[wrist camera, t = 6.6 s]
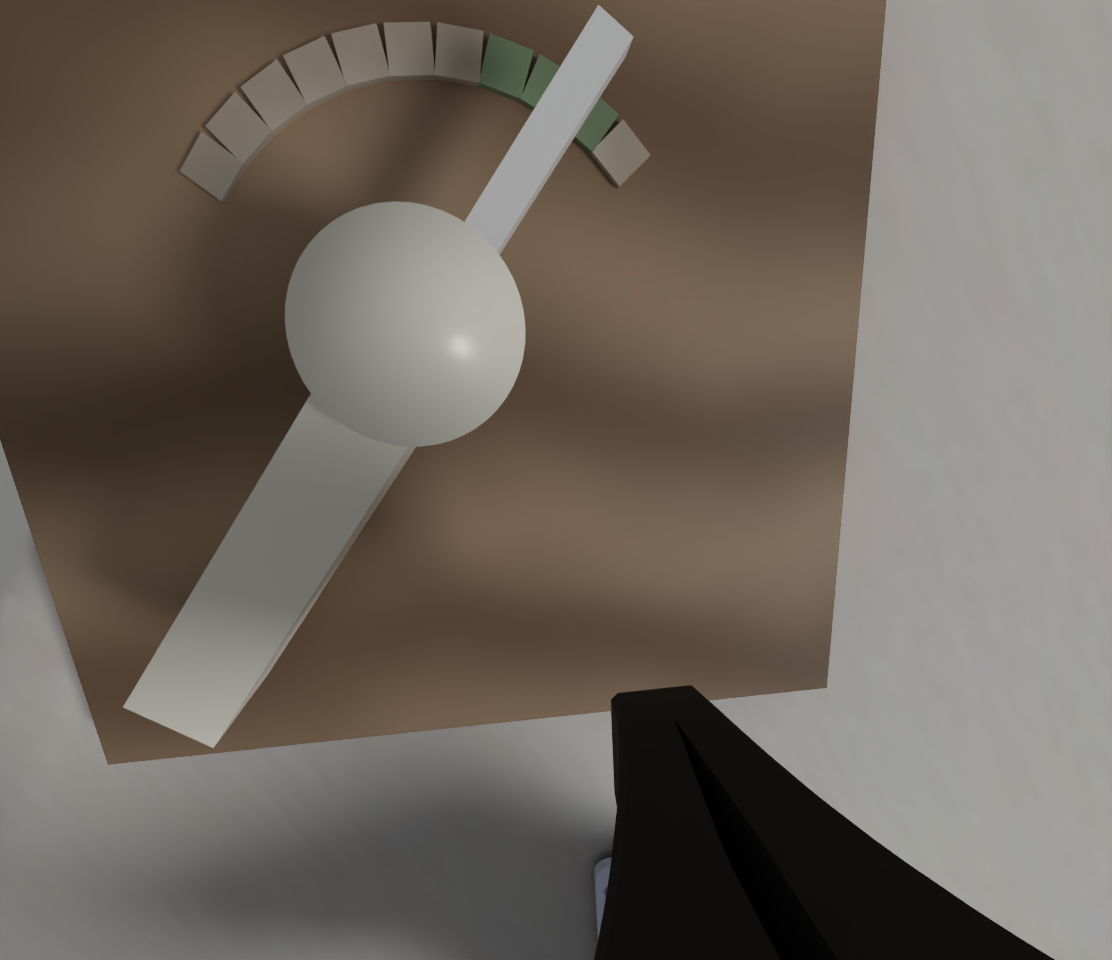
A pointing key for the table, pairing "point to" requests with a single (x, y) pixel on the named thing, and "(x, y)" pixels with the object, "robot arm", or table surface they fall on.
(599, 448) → the wood grain tray mat
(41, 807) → the table surface
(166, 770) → the table surface
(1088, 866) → the table surface
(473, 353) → the lever
